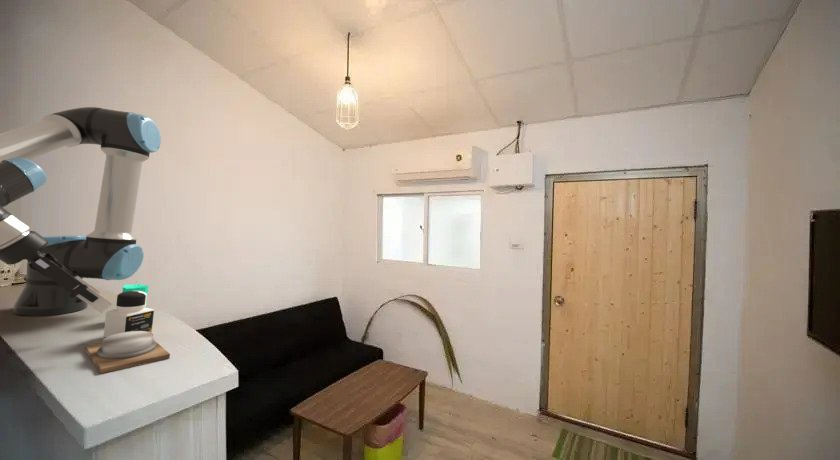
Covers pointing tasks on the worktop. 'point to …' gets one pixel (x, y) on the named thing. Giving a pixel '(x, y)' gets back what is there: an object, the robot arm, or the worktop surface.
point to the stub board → (124, 362)
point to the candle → (136, 288)
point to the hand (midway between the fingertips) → (100, 301)
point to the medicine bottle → (129, 314)
